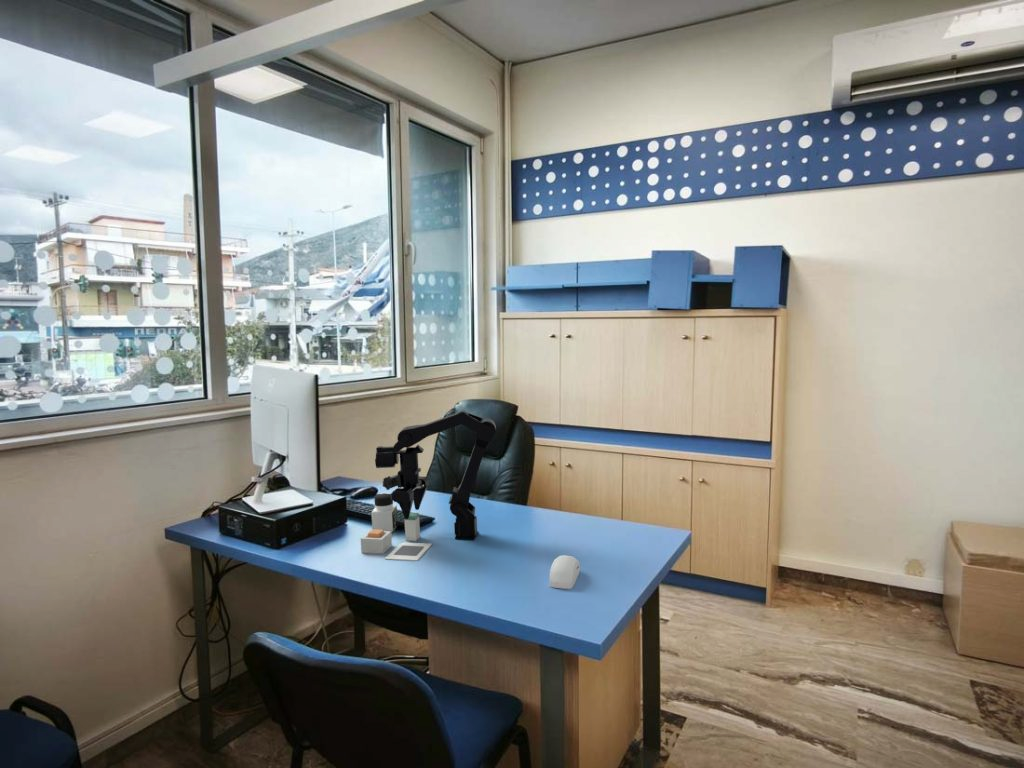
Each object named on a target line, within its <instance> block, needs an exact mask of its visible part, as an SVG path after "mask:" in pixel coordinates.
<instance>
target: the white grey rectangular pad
mask: <svg viewBox="0 0 1024 768" xmlns="http://www.w3.org/2000/svg"><path fill="white" fill-rule="evenodd" d="M432 544H433V543H426V542H425V543H424V542H423V543H422V542H421V543H419V542H401V543H400V544H399V545H397V547H395V548H394V549H393V550H392V551H391V552H390V553H389V554H388V555H387V556H386V557H385V558H384V559H385V560H393V561H409V562H410V561H411V562H412V561H413V562H418V561H419V560H420V558H422V557H423V555H424V554H425V553H426V552H427V551H428V550H429V549H430V547H432Z"/></svg>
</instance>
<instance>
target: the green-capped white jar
mask: <svg viewBox="0 0 1024 768" xmlns="http://www.w3.org/2000/svg"><path fill="white" fill-rule="evenodd" d="M403 518H404V531H405V532H404V533H405V535H404V536H405V541H409V542H413V541H414V542H417V541H418V540H419V539H420V538H421V529H420V528H421V527H420V525H421V523H420V513H419V512H410V515H409V518H408V519H405V517H404V516H403Z"/></svg>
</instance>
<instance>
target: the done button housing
mask: <svg viewBox="0 0 1024 768" xmlns="http://www.w3.org/2000/svg"><path fill="white" fill-rule="evenodd" d="M370 531H371V530H369V531H368V532H367V533H366V534H364V535H363V536H361V538H360V546H361V547H360V550H361V554H379V555H380V554H381V555H383V554H384V553H385V552H387V551H388V550H389V549H390V548H391V547H392V546H393V543H392V542H393V541H392V532H391V531H384V535H383V536H382V537H381V538H368V533H369V532H370Z"/></svg>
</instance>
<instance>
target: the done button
mask: <svg viewBox="0 0 1024 768" xmlns="http://www.w3.org/2000/svg"><path fill="white" fill-rule="evenodd" d="M369 531H370V532H369ZM369 531H368V532H369V533H368V532H367V533H368V538H381V537H382V536H383V535H384V530H379V529H373V530H372V529H371V530H369Z"/></svg>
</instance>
